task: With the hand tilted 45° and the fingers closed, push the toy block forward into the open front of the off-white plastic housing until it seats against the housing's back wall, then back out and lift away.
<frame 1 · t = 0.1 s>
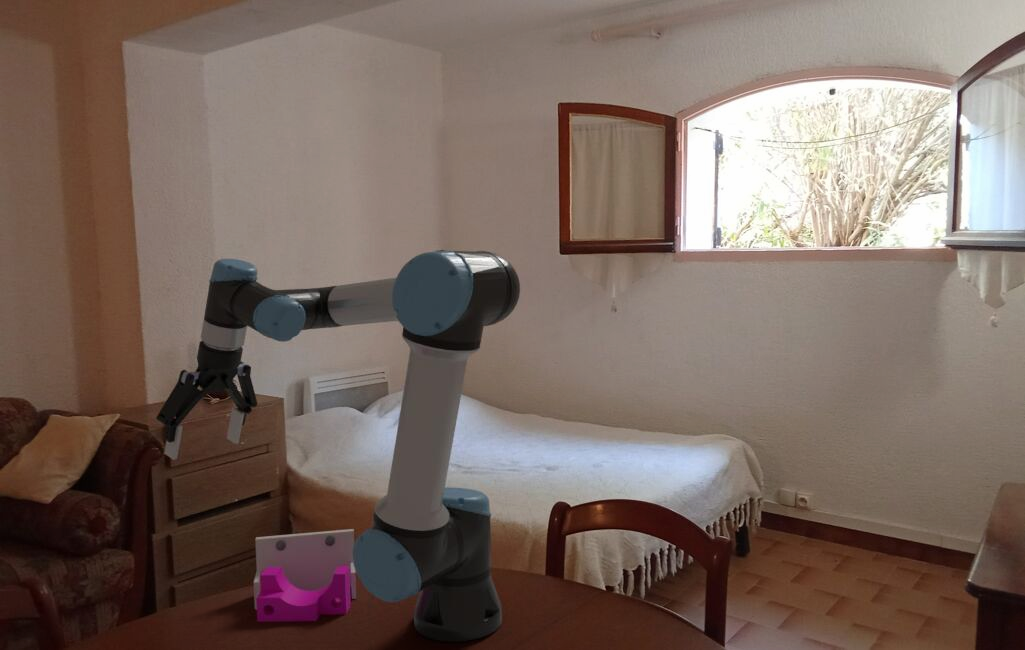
hand: (202, 448, 147), 28 cm above the table, tool tilted 20°, fingers open, 13 cm apart
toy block: (305, 615, 140), on the table
housing: (306, 596, 147), on the table
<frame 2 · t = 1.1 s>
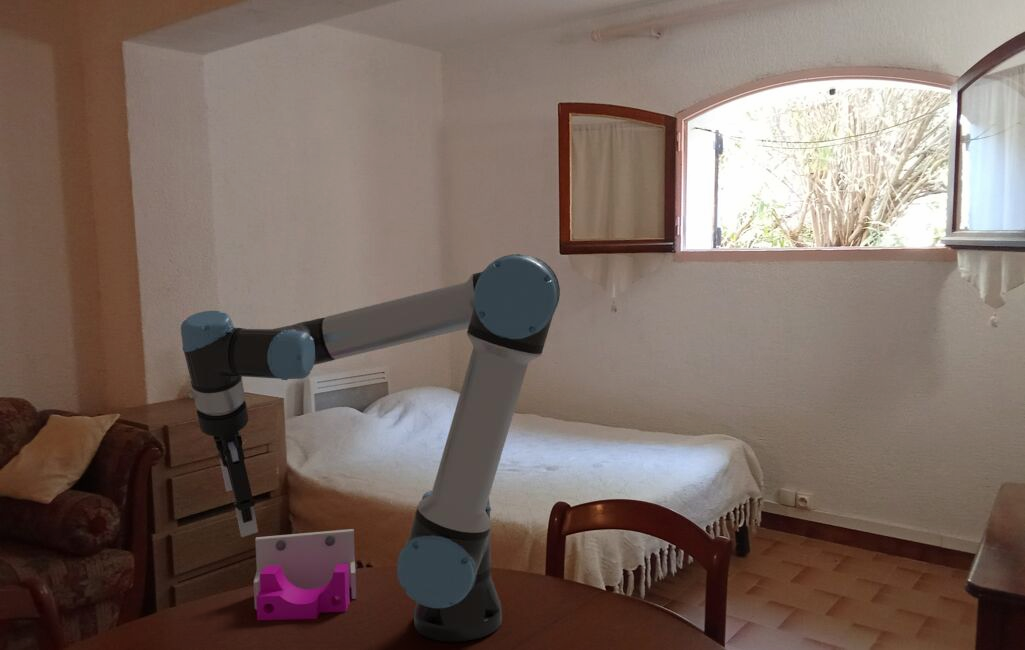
hand: (241, 510, 135), 20 cm above the table, tool tilted 20°, fingers open, 13 cm apart
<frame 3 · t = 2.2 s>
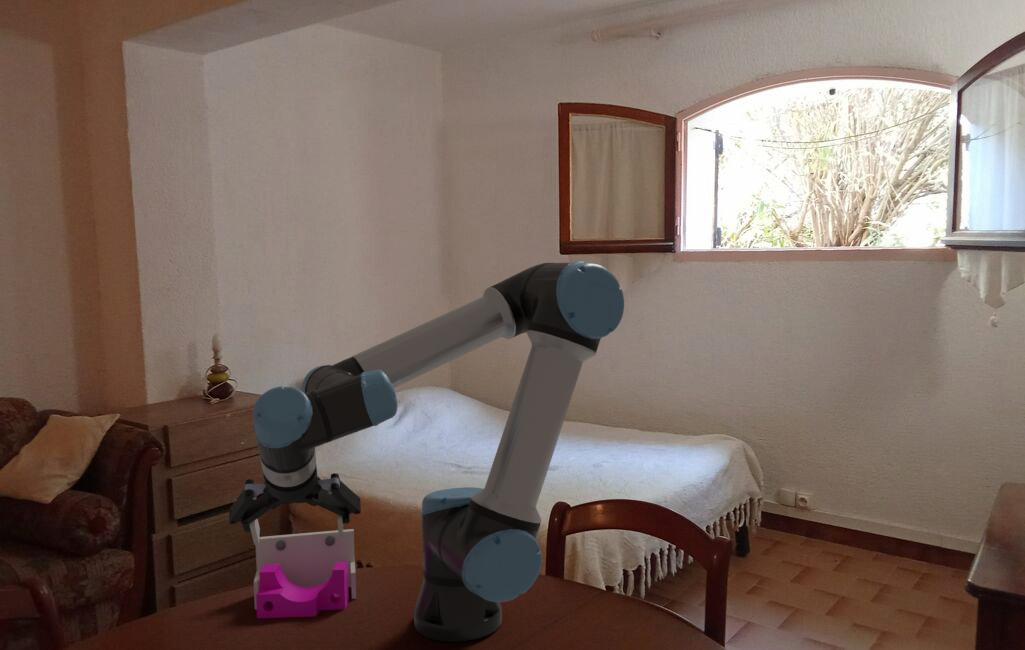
hand: (299, 533, 130), 18 cm above the table, tool tilted 45°, fingers open, 13 cm apart
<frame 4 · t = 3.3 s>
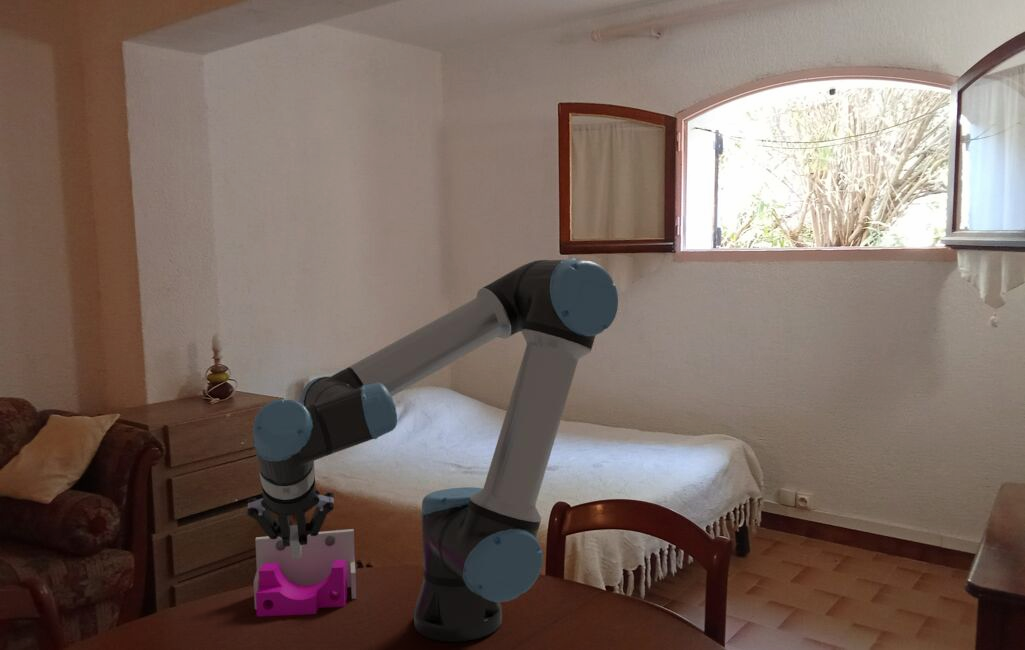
hand: (296, 550, 131), 14 cm above the table, tool tilted 45°, fingers closed
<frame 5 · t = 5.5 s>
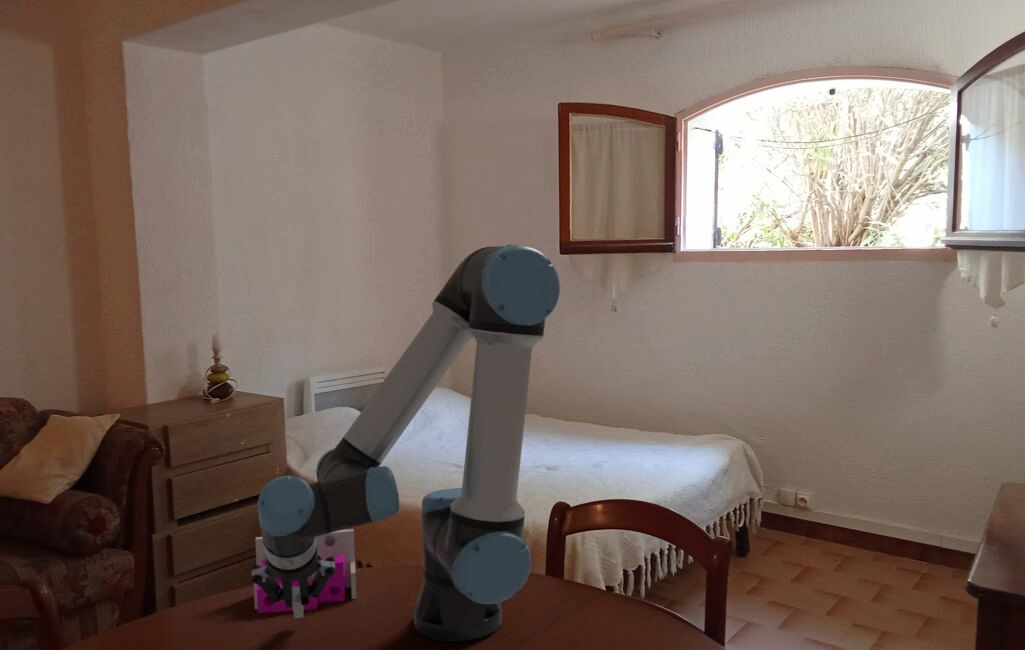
hand: (298, 610, 135), 3 cm above the table, tool tilted 45°, fingers closed
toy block: (303, 604, 144), on the table
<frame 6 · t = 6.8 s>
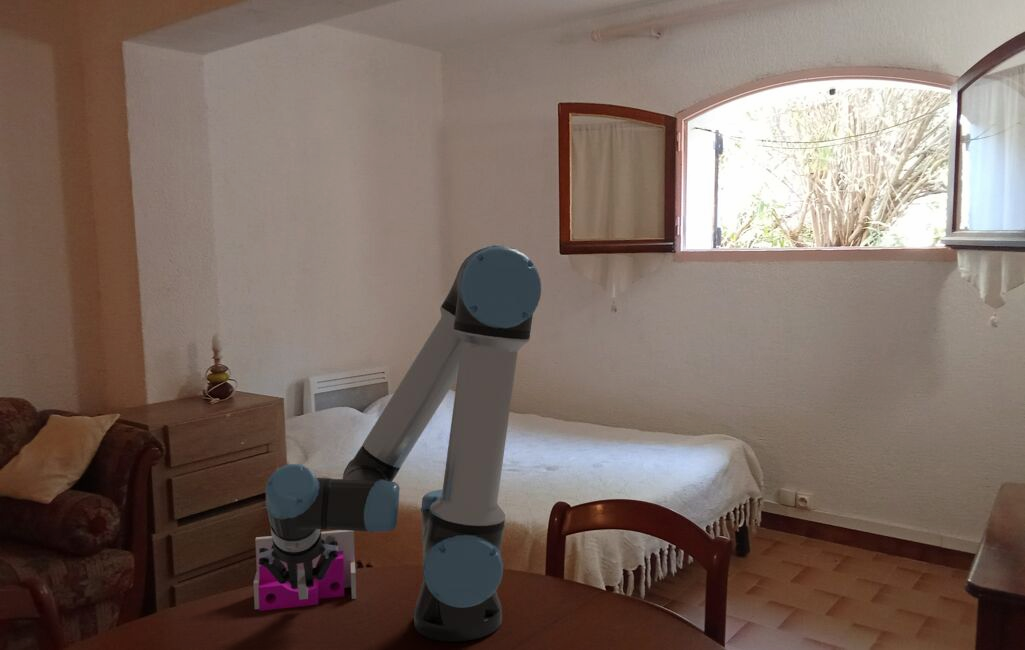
hand: (303, 591, 142), 3 cm above the table, tool tilted 45°, fingers closed
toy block: (303, 601, 146), on the table, touching gripper, housing
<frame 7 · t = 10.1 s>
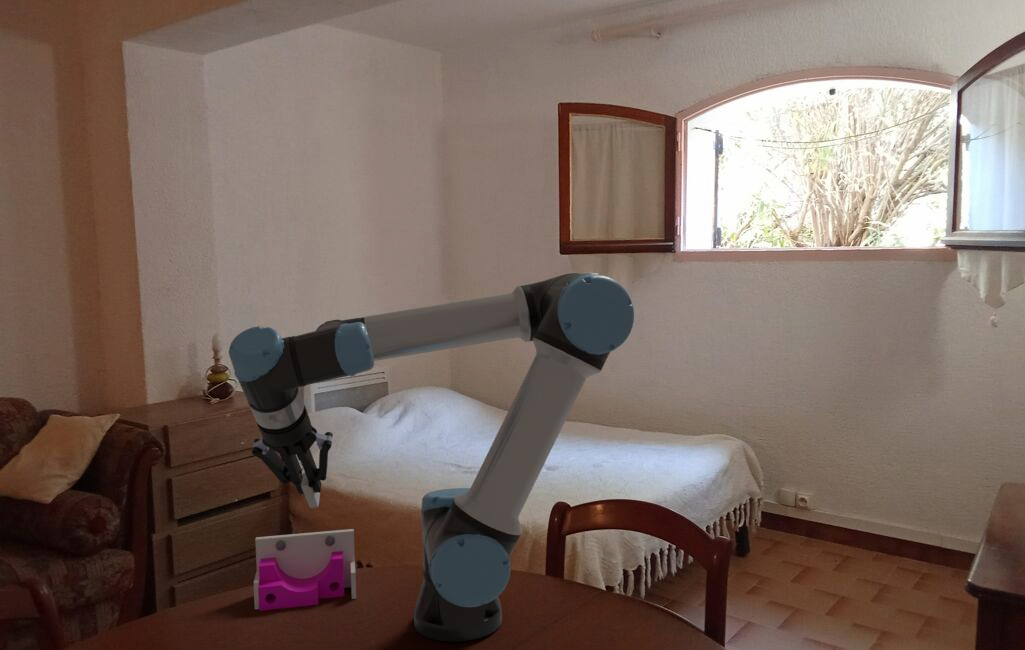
hand: (315, 501, 136), 21 cm above the table, tool tilted 40°, fingers closed
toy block: (302, 601, 146), on the table
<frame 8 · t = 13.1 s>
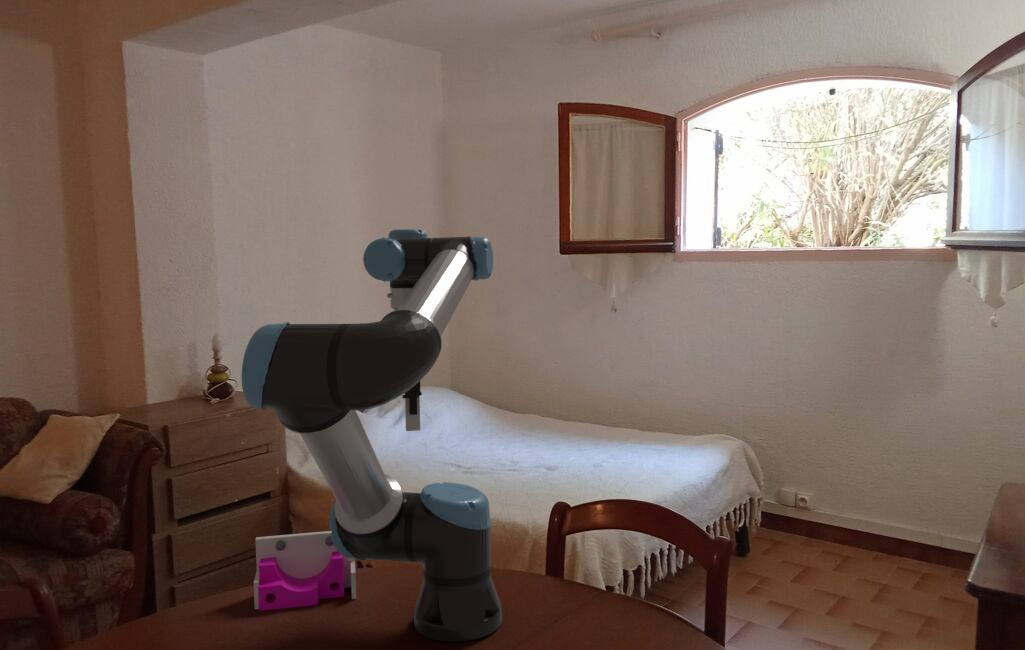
hand: (413, 429, 153), 29 cm above the table, tool pointing down, fingers closed
nothing on the table moved.
at the end: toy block 0.7 cm from the target spot on the housing, point 0.0 cm above the housing's base; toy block tilted 0° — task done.
